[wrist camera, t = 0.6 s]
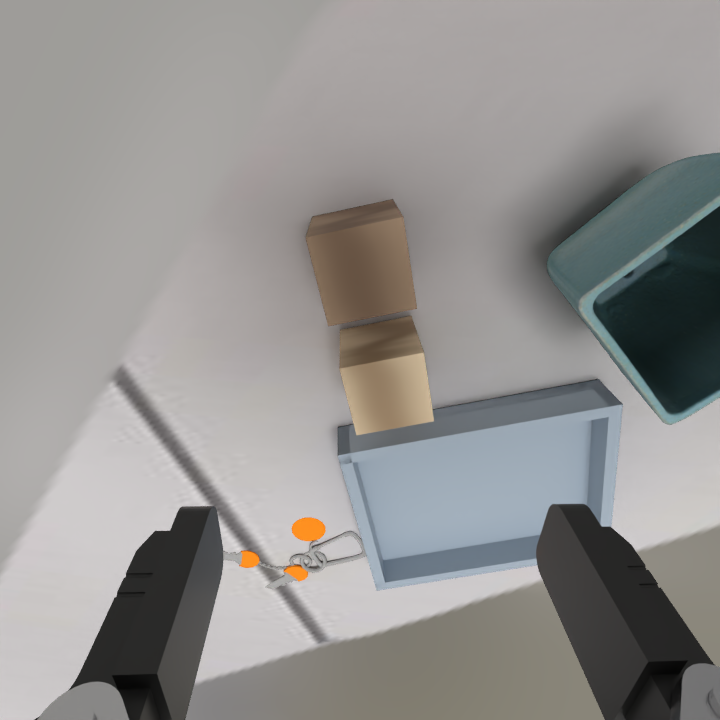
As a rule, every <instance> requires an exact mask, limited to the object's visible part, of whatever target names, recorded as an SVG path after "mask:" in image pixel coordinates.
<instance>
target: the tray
mask: <svg viewBox="0 0 720 720" xmlns="http://www.w3.org/2000/svg"><path fill="white" fill-rule="evenodd" d="M622 407H623V404H622V403H621V402H620V401H619V400H618V399H617V398H616V397H615V396H614V395H613V394H612V393H611V392H610V391H609V390H608V389H607V388H606V387H605V386H604V385H603V383H602V382H601V381H600V380H599V379H598V380H593V381H587V382H582V383H576V384H571V385H565V386H560V387H555V388H549V389H544V390H538V391H533V392H527V393H522V394H516V395H511V396H506V397H500V398H495V399H489V400H484V401H478V402H473V403H467V404H462V405H457V406H451V407H446V408H440V409H435V410H433V417H434V421H433V422H428V423H422V424H417V425H411V426H406V427H400V428H395V429H389V430H384V431H378V432H373V433H367V434H362V435H356V431H355V427H354V424H353V425H348V426H342V427H338V458H339V462H340V465H341V469H342V472H343V476H344V479H345V482H346V486H347V489H348V493H349V496H350V500H351V503H352V507H353V510H354V514H355V517H356V520H357V524H358V527H359V531H360V534H361V538H362V541H363V545H364V548H365V552H366V555H367V558H368V562H369V565H370V569H371V572H372V576H373V579H374V583H375V586H376V589H377V591H378V590H384V589H390V588H397V587H403V586H409V585H415V584H422V583H428V582H434V581H441V580H447V579H453V578H460V577H466V576H472V575H478V574H485V573H491V572H497V571H504V570H510V569H516V568H522V567H529V566H535V565H537V559H536V548H537V544H538V540H539V537H540V534H541V531H542V528H543V525H544V521H545V518H546V515H547V512H548V509H549V507H550V506H551V505H552V504H585V505H587V506H588V507H589V508H590V509H591V511H592V512H593V514H594V515H595V517H596V518H597V520H598V522H599V523H600V525H601V526H602V527H607V526H610V527H611V524H612V514H613V503H614V492H615V482H616V471H617V460H618V450H619V439H620V429H621V418H622Z"/></svg>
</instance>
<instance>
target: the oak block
mask: <svg viewBox="0 0 720 720" xmlns="http://www.w3.org/2000/svg"><path fill="white" fill-rule="evenodd" d="M339 369H340V373H341V377H342V381H343V384H344V388H345V392H346V396H347V400H348V404H349V408H350V412H351V416H352V419H353V423H354V427H355V431H356V435H362V434H367V433H373V432H378V431H384V430H389V429H395V428H400V427H406V426H411V425H417V424H422V423H428V422H433V421H434V417H433V410H432V403H431V397H430V390H429V383H428V377H427V370H426V364H425V357H424V352H423V349H422V346H421V343H420V340H419V337H418V334H417V331H416V328H415V325H414V323H413V320H412V317H411V316H408V317H403V318H398V319H393V320H388V321H382V322H377V323H372V324H367V325H362V326H357V327H352V328H347V329H342V330H340V368H339Z"/></svg>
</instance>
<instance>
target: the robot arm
mask: <svg viewBox="0 0 720 720" xmlns="http://www.w3.org/2000/svg"><path fill="white" fill-rule="evenodd" d="M536 559H537V565H538V569H539V572H540V575H541V577H542V579H543V581H544V584H545V586H546V588H547V590H548V593H549V595H550V597H551V599H552V602H553V604H554V606H555V608H556V611H557V613H558V615H559V617H560V620H561V622H562V624H563V626H564V629H565V631H566V633H567V635H568V638H569V640H570V642H571V644H572V647H573V649H574V651H575V653H576V656H577V658H578V660H579V662H580V665H581V667H582V669H583V671H584V674H585V676H586V678H587V680H588V683H589V685H590V687H591V689H592V692H593V694H594V696H595V698H596V701H597V703H598V705H599V707H600V709H601V712H602V714H603V716H604V719H605V720H720V667H717V666H715V665H714V664H713V662H712V661H711V660H710V658H709V657H708V656H707V654H706V653H705V651H704V650H703V649H702V647H701V646H700V644H699V643H698V641H697V640H696V638H695V637H694V635H693V634H692V633H691V631H690V630H689V628H688V627H687V625H686V624H685V622H684V621H683V619H682V618H681V617H680V615H679V614H678V612H677V611H676V609H675V608H674V607H673V605H672V603H671V602H670V601H669V599H668V598H667V596H666V595H665V593H664V592H663V591H662V589H661V588H659V587H658V585H657V584H658V583H657V582H656V580H655V579H654V577H653V576H652V574H651V573H650V572H649V570H646V568H645V564H644V563H643V561H642V560H641V558H640V557H639V555H638V554H637V553H636V551H635V550H634V548H633V547H632V545H631V544H630V543H629V542H627V541H626V540H625V539H624V538H623V537H622V536H621V535H619V534H618V533H617V532H616V531H615V530H614V529H612V528H611V527H610V526H607V527H602V526H601V525H600V523H599V522H598V520H597V518H596V517H595V515H594V514H593V512H592V511H591V509H590V508H589V507H588V506H587V505H585V504H552V505H551V506H550V507H549V509H548V512H547V515H546V518H545V521H544V525H543V528H542V531H541V534H540V537H539V540H538V544H537V548H536ZM222 569H223V546H222V540H221V534H220V527H219V521H218V515H217V510H216V508H215V507H214V506H195V507H181V508H180V509H179V511H178V513H177V515H176V518H175V520H174V523H173V525H172V528H171V530H170V531H155V532H154V533H153V534H152V535H151V536H150V537H149V538H148V539H147V540H146V541H145V542H144V543H143V544H142V545H141V547H140V548H139V549H138V550H137V551H136V553H135V555H134V557H133V560H132V562H131V564H130V566H129V568H128V570H127V572H126V577H125V578H124V579H123V581H122V583H121V585H120V588H119V590H118V592H117V597H115V598H114V600H113V603H112V605H111V607H110V609H109V611H108V613H107V616H106V618H105V620H104V622H103V624H102V626H101V629H100V631H99V633H98V635H97V637H96V639H95V641H94V644H93V646H92V648H91V650H90V652H89V654H88V657H87V659H86V661H85V663H84V665H83V667H82V669H81V672H80V673H79V675H78V677H77V679H76V681H75V682H74V684H73V685H72V687H71V688H70V689H69V690H68V691H67V692H65V693H64V694H63V695H61V696H60V697H58V698H57V699H56V700H55V701H54V702H52V703H51V704H50V705H49V706H48V707H47V708H46V710H45V711H44V712H43V713H42V714H41V716H40V717H38V718H36V719H35V720H185V718H186V714H187V710H188V706H189V702H190V698H191V694H192V690H193V687H194V683H195V679H196V675H197V671H198V667H199V663H200V659H201V655H202V651H203V647H204V643H205V639H206V635H207V631H208V627H209V623H210V619H211V615H212V611H213V608H214V604H215V600H216V596H217V592H218V588H219V584H220V580H221V575H222Z"/></svg>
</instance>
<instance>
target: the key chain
mask: <svg viewBox="0 0 720 720" xmlns="http://www.w3.org/2000/svg"><path fill="white" fill-rule="evenodd" d="M292 533H293V534H294V535H295V537H297V538H298V539H300V540H304V541H313V542H312V543H311V544H310V550H309V551H308V552H306V553H304V554H303V555H301V554H299V555H295V556H293V557H291V559H290V564H291V565H289V566H283V567H282V566H278V567H276V566H271V565H266V564H265V563H262V562H261V561H260V560H259V556H258V555H257V554H256V553H254V552H251V551H241V552H240V553H238V554H236V552H233V553H230V554H228V552H225V551H223V560H230V561H235V562H237V563H238V564H239V566H241V567H244V568H250V567H254V566H256V565H257V564H260V565H262V566H264V567H267V568H270V569H278V570H279V569H285V570H284V572H285V575H284V576H282V577H280V578H278V579H277V580H275V581H273V582H272V583H270V584H269V585H267V586H266V588H270V589H274V588H276V587H278V586H280V585H283V586H285V584H287V583H286V582H288V583H289V582H293V580H295V581H301V580H304V579H305V578H307V576H308V572H312V573H315V572H319V571H321V570H323V569H324V568H325V567H327V566H331V565H336V564H340V563H345V562H349V561H353V560H357V559H360V558H362V557H365V556H366V552H365V548H364V545H363V541H362V539H361V538H360V537H359V536H358V535H357V534H356V533H354V532H352V531H349V532H345V533H343V534H342V535H340V536H338V537H336V538H334V539H331V540H329V541H327V542H325V543H323V544H320V545H318V546H317V545H316V546H314V547H313V548H312V545H313V544H314V543H315V542H318V541H316V540H317V539H320V538H321V537H322V536H323V535H324V533H325V526H324V524H323V523H322V522H321V521H319V520H318V519H315V518H302V519H299V520H297V521H296V522H295V523H294V524H293V526H292ZM347 536H353V537H354V538H355V539H356V540H357V541H358V542H359V544H360V546H361V548H362V553H361V554H358V555H356V556H351V557H347V558H343V559H339V560H334V561H330V562H327V560H326V558H325V556H324V555H323V554H322V553H321V552H318V551H317V550H319V549H320V548H321V547H323V546H325V545H327V544H329V543H331V542H333V541H335V540H337V539H340V538H342V537H347ZM314 540H315V541H314ZM309 554H311V556H312V558H313V560H314V561H315V562H316V564H317V565H318V566H319V568H315V569H312V568H309V567H310V565H311V564H312V560H311V558H310V557H308V556H307V555H309ZM316 555H318V556H320V557H321V558H322V560H323V563H322V562H320V561H319V559H318V558H317V556H316ZM296 558H300V564H301V566H299V565H295V564H294V563H293V560H294V559H296ZM304 559H306V560H308V561H309V563H308V564H307V565H305V564H304Z"/></svg>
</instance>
